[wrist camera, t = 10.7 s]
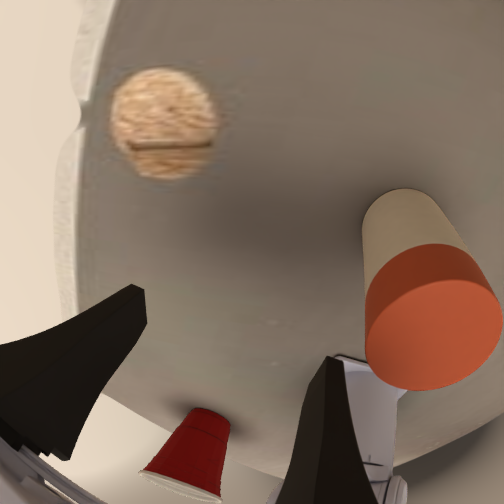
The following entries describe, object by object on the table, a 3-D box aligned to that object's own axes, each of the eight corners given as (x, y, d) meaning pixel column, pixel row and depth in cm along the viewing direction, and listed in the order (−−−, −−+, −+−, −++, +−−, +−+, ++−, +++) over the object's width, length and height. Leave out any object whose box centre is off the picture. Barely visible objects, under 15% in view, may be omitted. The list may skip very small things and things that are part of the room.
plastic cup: (235, 443, 41) (207, 508, 32) (170, 412, 42) (136, 476, 32) (263, 424, 35) (232, 508, 25) (184, 387, 35) (140, 468, 25)
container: (379, 175, 16) (408, 257, 8) (457, 207, 15) (528, 305, 7) (349, 253, 19) (341, 374, 11) (422, 279, 18) (450, 400, 10)
